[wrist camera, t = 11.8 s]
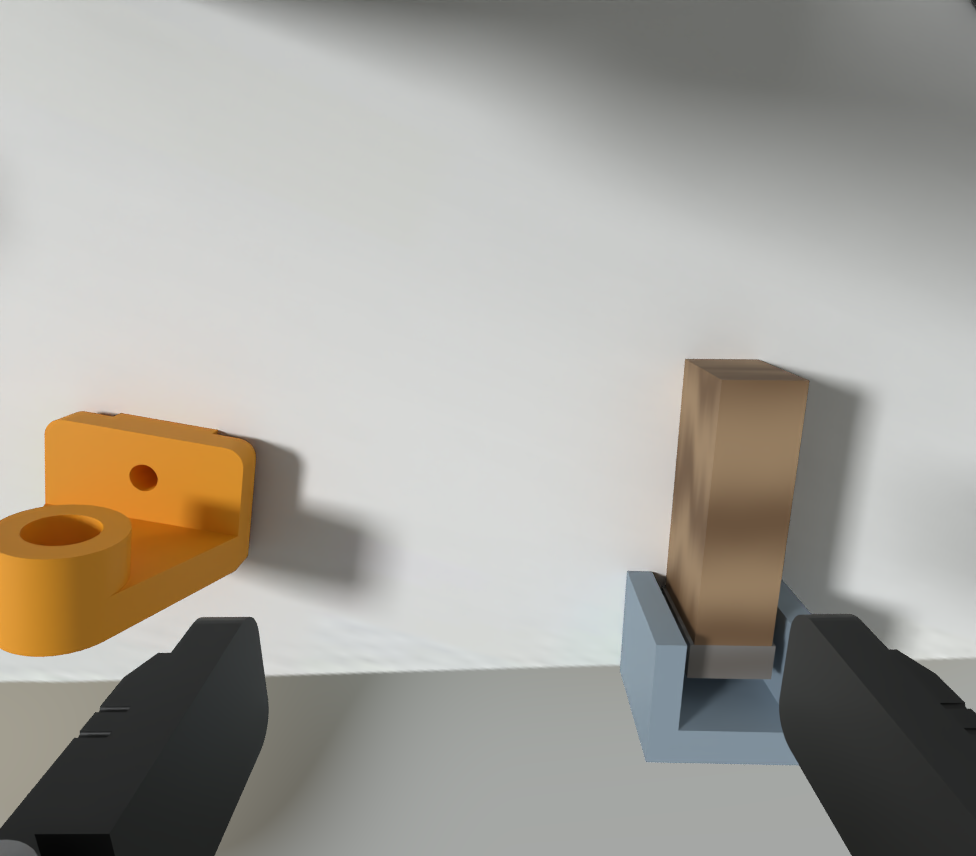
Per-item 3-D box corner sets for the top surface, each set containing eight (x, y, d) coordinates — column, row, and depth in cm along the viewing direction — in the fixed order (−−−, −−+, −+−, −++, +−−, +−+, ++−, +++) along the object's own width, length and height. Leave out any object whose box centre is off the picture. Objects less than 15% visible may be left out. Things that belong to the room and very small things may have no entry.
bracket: (262, 437, 37) (152, 522, 25) (253, 549, 39) (147, 676, 27) (76, 405, 36) (-121, 475, 25) (76, 519, 38) (-107, 634, 27)
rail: (681, 359, 35) (717, 380, 29) (761, 359, 35) (813, 380, 29) (659, 615, 39) (687, 678, 33) (731, 616, 39) (771, 679, 33)
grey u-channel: (627, 571, 38) (656, 645, 31) (776, 573, 38) (840, 648, 31) (620, 670, 40) (646, 761, 33) (762, 673, 40) (819, 765, 33)
